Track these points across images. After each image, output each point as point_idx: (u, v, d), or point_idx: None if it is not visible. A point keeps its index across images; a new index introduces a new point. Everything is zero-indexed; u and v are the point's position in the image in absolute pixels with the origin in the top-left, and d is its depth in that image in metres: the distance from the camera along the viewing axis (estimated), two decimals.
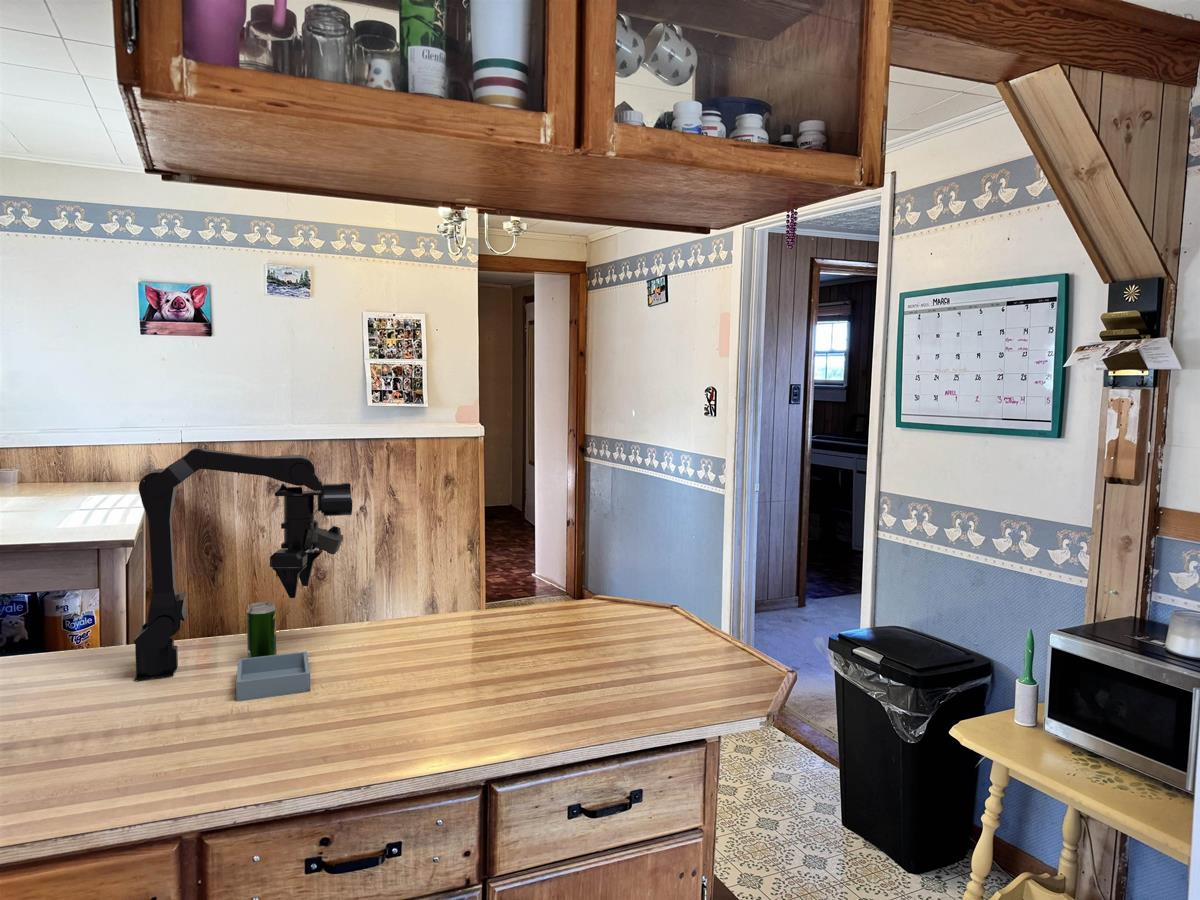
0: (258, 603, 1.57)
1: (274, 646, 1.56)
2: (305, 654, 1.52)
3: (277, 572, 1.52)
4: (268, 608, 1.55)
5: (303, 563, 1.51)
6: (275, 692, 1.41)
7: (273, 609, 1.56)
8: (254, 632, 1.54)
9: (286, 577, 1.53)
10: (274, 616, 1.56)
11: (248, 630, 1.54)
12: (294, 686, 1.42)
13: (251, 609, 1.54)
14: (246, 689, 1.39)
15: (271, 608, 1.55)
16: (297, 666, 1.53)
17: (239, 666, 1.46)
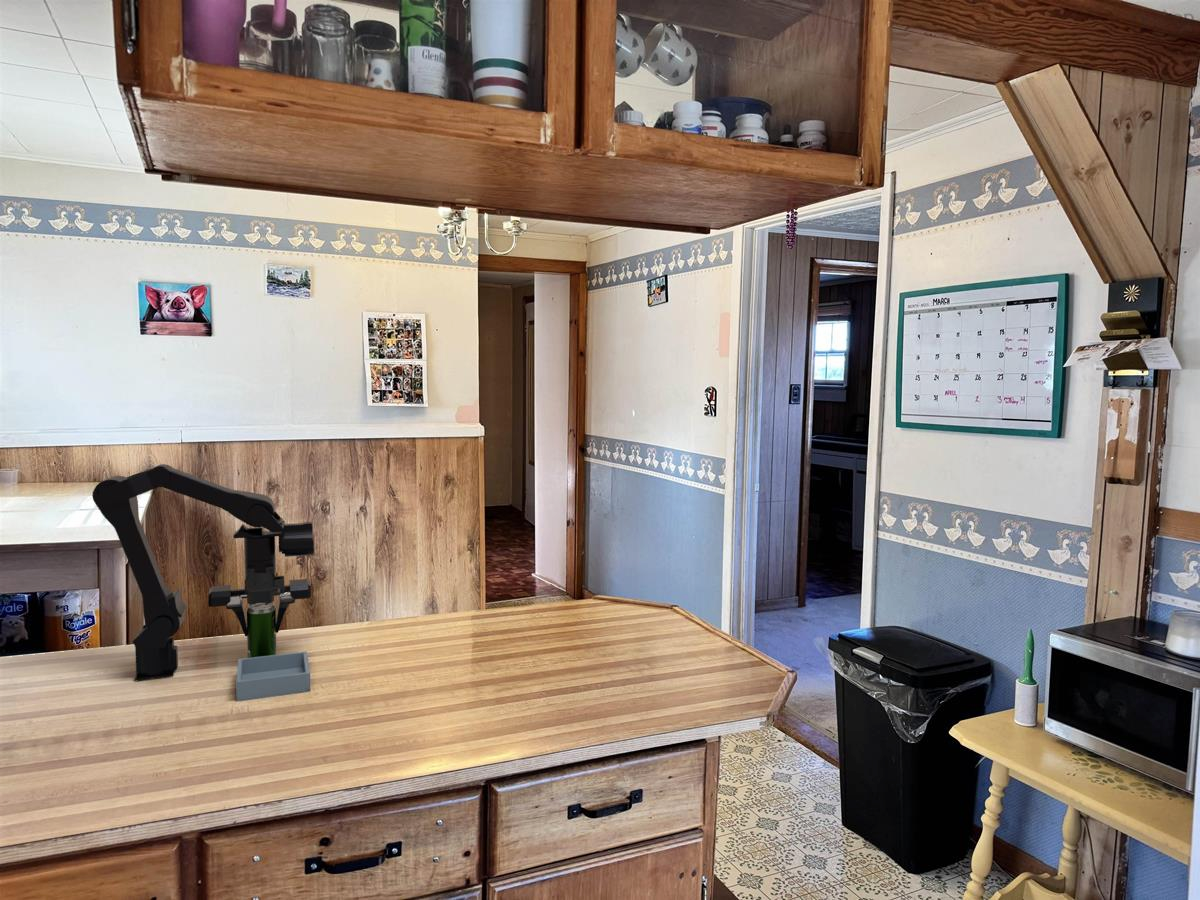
0: (258, 603, 1.57)
1: (274, 646, 1.56)
2: (305, 654, 1.52)
3: None
4: (268, 608, 1.55)
5: (214, 604, 1.50)
6: (275, 692, 1.41)
7: (273, 609, 1.56)
8: (254, 632, 1.54)
9: None
10: (274, 616, 1.56)
11: (248, 630, 1.54)
12: (294, 686, 1.42)
13: (251, 608, 1.54)
14: (246, 689, 1.39)
15: (271, 608, 1.55)
16: (297, 666, 1.53)
17: (239, 666, 1.46)
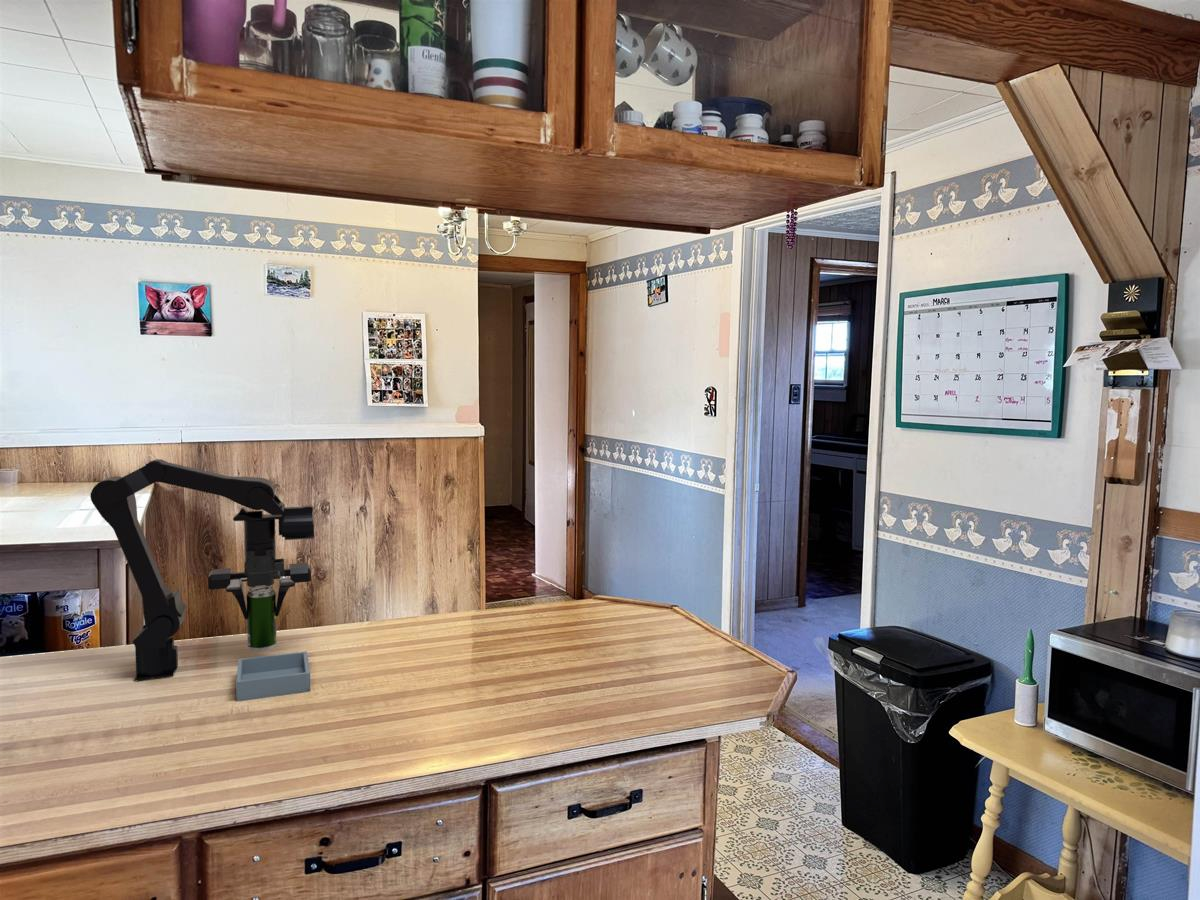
0: (257, 587, 1.57)
1: (274, 630, 1.56)
2: (305, 654, 1.52)
3: None
4: (268, 592, 1.54)
5: (214, 586, 1.49)
6: (275, 692, 1.41)
7: (273, 593, 1.56)
8: (254, 616, 1.53)
9: None
10: (274, 600, 1.56)
11: (248, 614, 1.54)
12: (294, 686, 1.42)
13: (251, 592, 1.53)
14: (246, 689, 1.39)
15: (271, 592, 1.55)
16: (297, 666, 1.53)
17: (239, 666, 1.46)
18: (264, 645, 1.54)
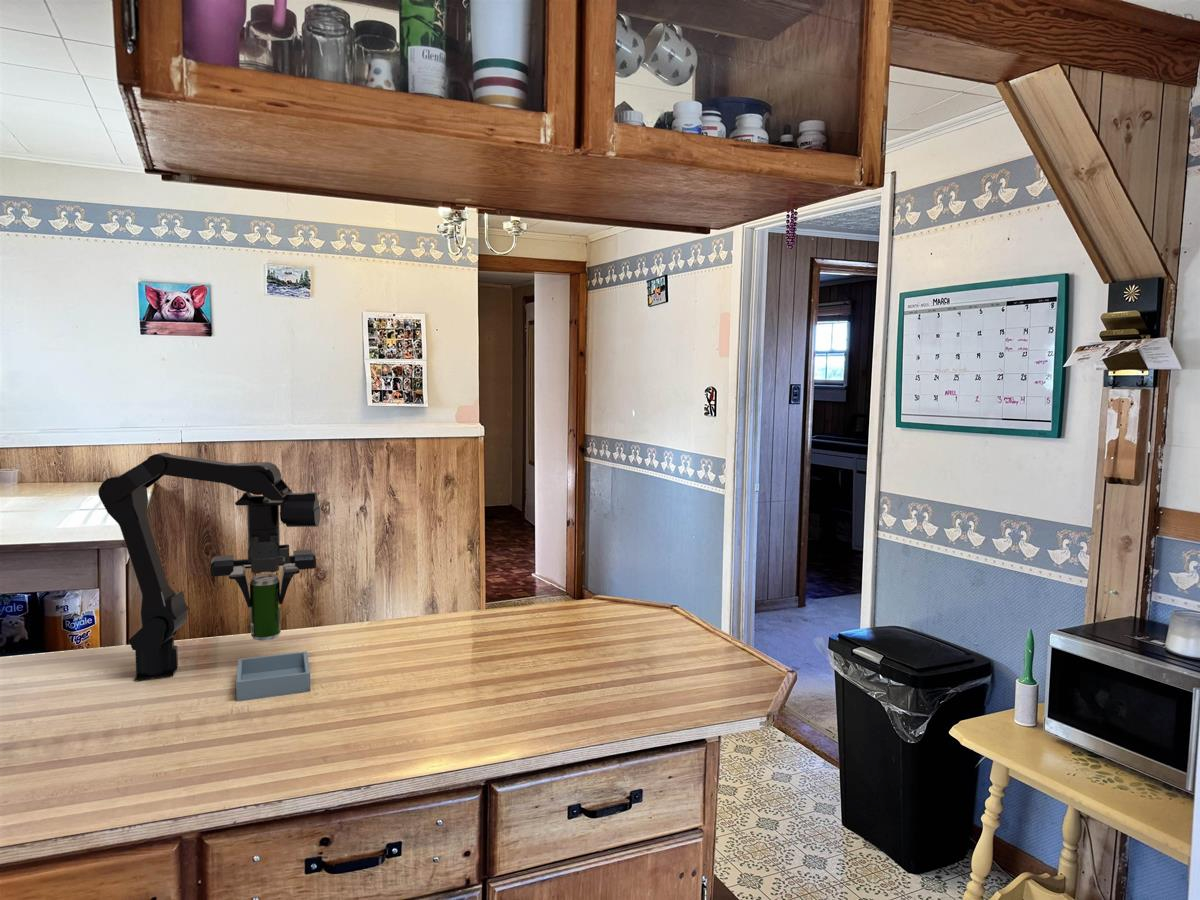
0: (261, 575, 1.53)
1: (278, 619, 1.52)
2: (305, 654, 1.52)
3: None
4: (272, 580, 1.51)
5: (217, 573, 1.45)
6: (275, 692, 1.41)
7: (277, 581, 1.52)
8: (258, 605, 1.50)
9: None
10: (278, 588, 1.52)
11: (251, 602, 1.50)
12: (294, 686, 1.42)
13: (255, 580, 1.50)
14: (246, 689, 1.39)
15: (275, 580, 1.51)
16: (297, 666, 1.53)
17: (239, 666, 1.46)
18: (268, 634, 1.51)
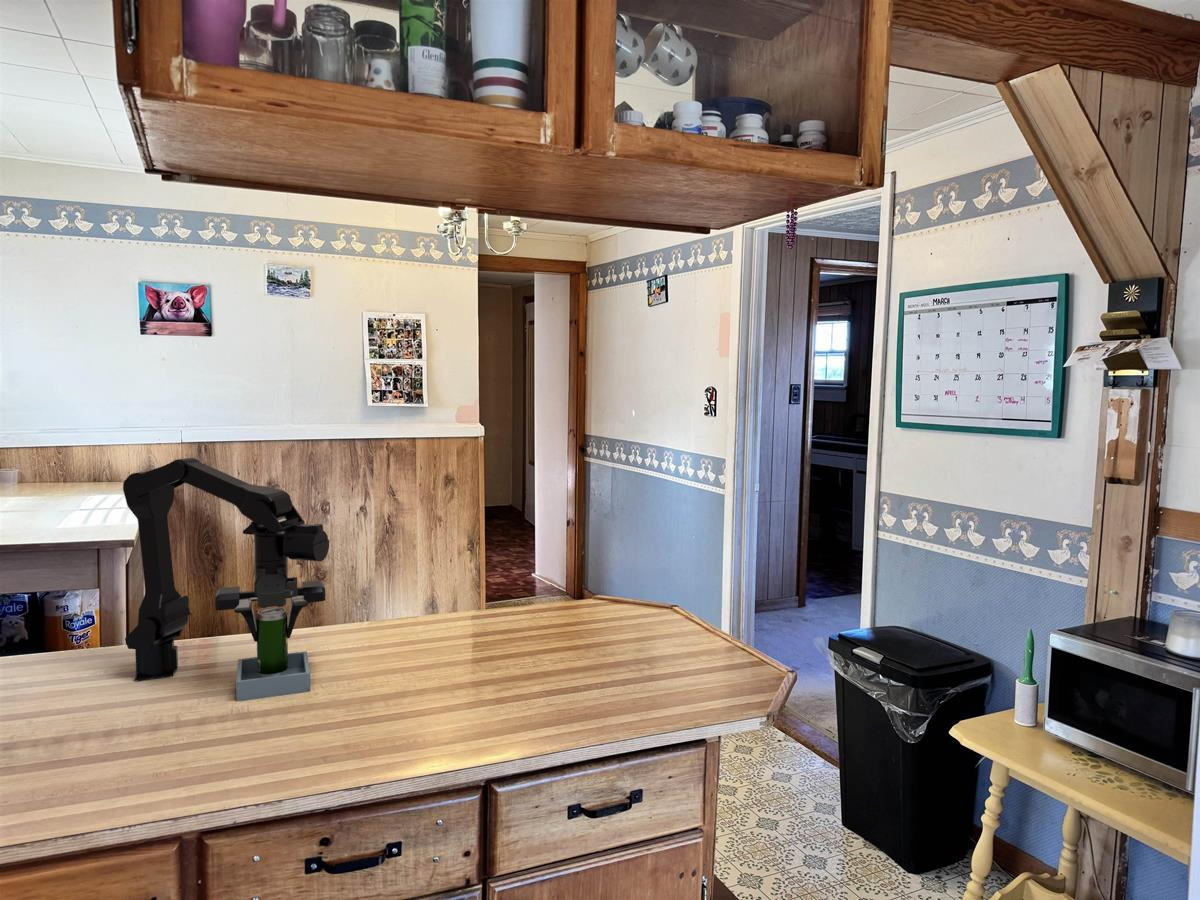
0: (268, 609, 1.46)
1: (286, 655, 1.46)
2: (305, 654, 1.52)
3: None
4: (280, 614, 1.44)
5: (222, 607, 1.39)
6: (275, 692, 1.41)
7: (285, 615, 1.45)
8: (265, 640, 1.43)
9: None
10: (286, 623, 1.45)
11: (258, 638, 1.44)
12: (294, 686, 1.42)
13: (262, 615, 1.43)
14: (246, 689, 1.39)
15: (283, 614, 1.45)
16: (297, 666, 1.53)
17: (239, 666, 1.46)
18: (275, 671, 1.44)
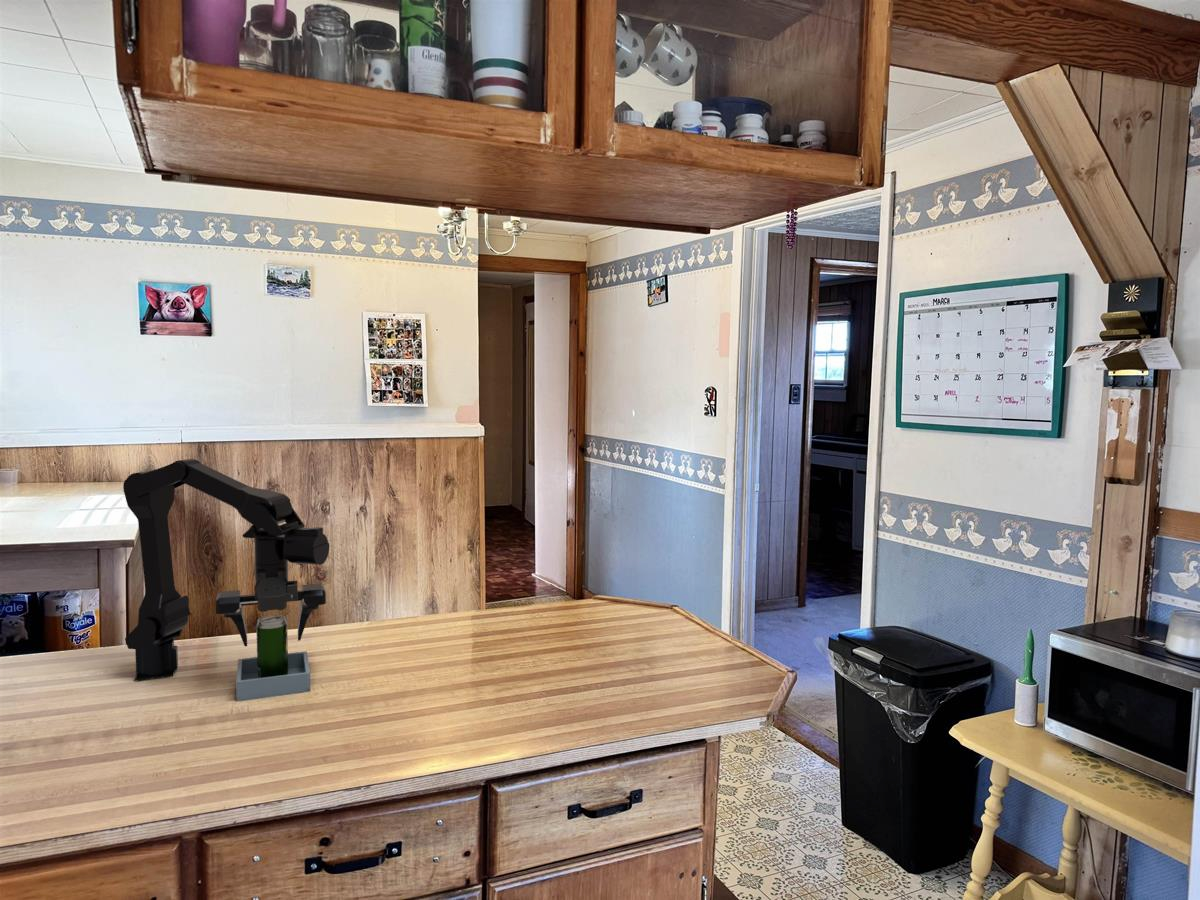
0: (268, 616, 1.47)
1: (286, 663, 1.46)
2: (305, 654, 1.52)
3: None
4: (279, 622, 1.44)
5: (223, 610, 1.39)
6: (275, 692, 1.41)
7: (285, 623, 1.45)
8: (265, 648, 1.43)
9: None
10: (286, 631, 1.46)
11: (258, 646, 1.44)
12: (294, 686, 1.42)
13: (262, 623, 1.43)
14: (246, 689, 1.39)
15: (283, 622, 1.45)
16: (297, 666, 1.53)
17: (239, 666, 1.46)
18: None
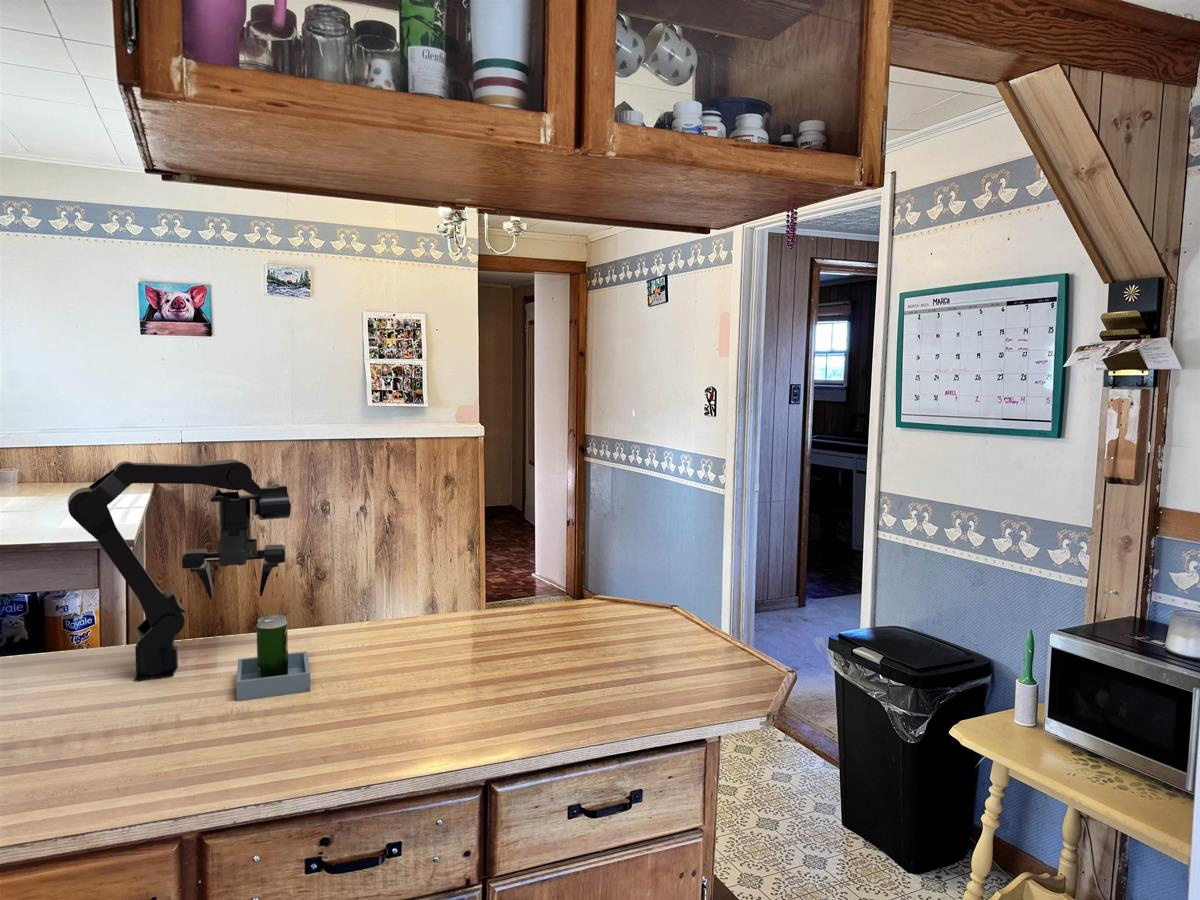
0: (268, 616, 1.47)
1: (286, 663, 1.46)
2: (305, 654, 1.52)
3: None
4: (280, 622, 1.44)
5: (188, 565, 1.51)
6: (275, 692, 1.41)
7: (285, 623, 1.45)
8: (265, 648, 1.43)
9: None
10: (286, 631, 1.46)
11: (258, 646, 1.44)
12: (294, 686, 1.42)
13: (262, 623, 1.43)
14: (246, 689, 1.39)
15: (283, 622, 1.45)
16: (297, 666, 1.53)
17: (239, 666, 1.46)
18: None
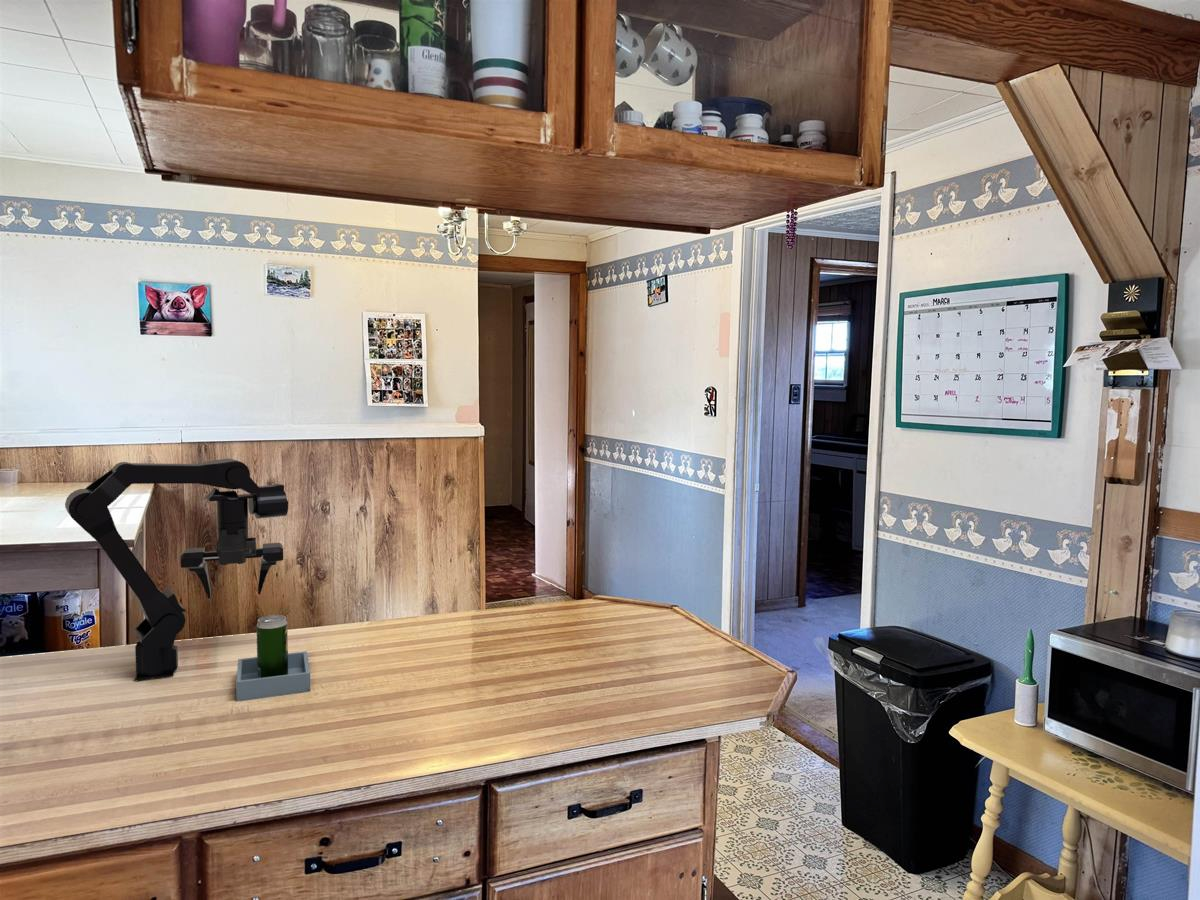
0: (268, 616, 1.47)
1: (286, 663, 1.46)
2: (305, 654, 1.52)
3: None
4: (280, 622, 1.44)
5: (187, 564, 1.52)
6: (275, 692, 1.41)
7: (285, 623, 1.45)
8: (265, 648, 1.43)
9: None
10: (286, 631, 1.46)
11: (258, 646, 1.44)
12: (294, 686, 1.42)
13: (262, 623, 1.43)
14: (246, 689, 1.39)
15: (283, 622, 1.45)
16: (297, 666, 1.53)
17: (239, 666, 1.46)
18: None
